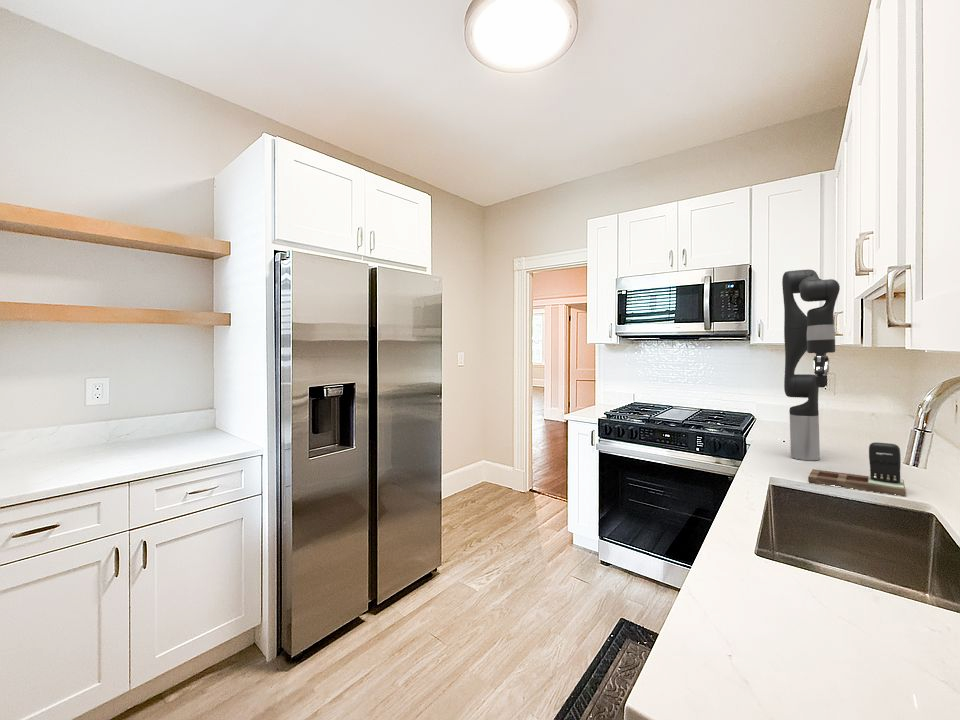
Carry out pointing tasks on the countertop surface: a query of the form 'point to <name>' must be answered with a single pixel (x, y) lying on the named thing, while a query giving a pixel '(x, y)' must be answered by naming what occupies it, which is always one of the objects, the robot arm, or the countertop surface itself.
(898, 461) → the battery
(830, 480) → the board
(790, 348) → the robot arm
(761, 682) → the countertop surface
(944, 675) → the countertop surface
